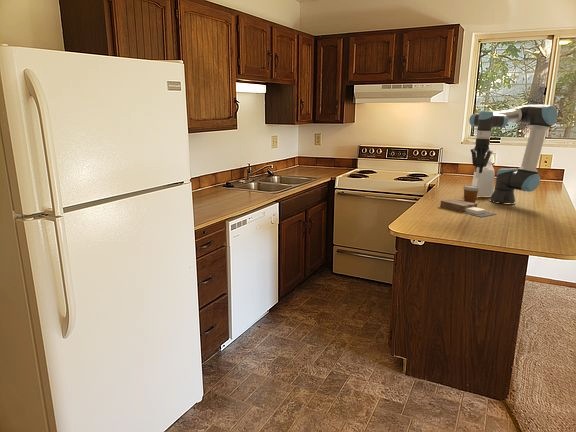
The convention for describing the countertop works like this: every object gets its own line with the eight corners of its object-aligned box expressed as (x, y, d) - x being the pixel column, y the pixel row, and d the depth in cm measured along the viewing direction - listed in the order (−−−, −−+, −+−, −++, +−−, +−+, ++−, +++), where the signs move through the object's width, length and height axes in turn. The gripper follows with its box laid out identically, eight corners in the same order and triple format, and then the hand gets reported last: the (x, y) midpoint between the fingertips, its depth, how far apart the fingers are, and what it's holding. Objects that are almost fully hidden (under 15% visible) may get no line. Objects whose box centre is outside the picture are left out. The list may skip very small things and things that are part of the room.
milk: (486, 194, 314) (491, 159, 308) (492, 198, 303) (497, 161, 296) (469, 194, 315) (474, 158, 309) (474, 197, 304) (480, 160, 297)
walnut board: (454, 204, 278) (454, 198, 277) (476, 210, 265) (477, 203, 264) (440, 206, 270) (440, 200, 269) (462, 212, 257) (462, 205, 256)
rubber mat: (478, 210, 264) (478, 209, 264) (496, 214, 254) (496, 213, 254) (463, 212, 256) (463, 212, 256) (481, 217, 246) (481, 216, 246)
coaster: (473, 209, 263) (473, 206, 262) (485, 212, 256) (485, 209, 256) (465, 211, 259) (465, 208, 258) (476, 214, 252) (477, 210, 251)
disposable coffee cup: (463, 202, 286) (465, 184, 283) (478, 204, 281) (480, 186, 278) (459, 204, 278) (462, 186, 275) (475, 206, 273) (477, 188, 270)
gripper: (469, 137, 252) (464, 176, 258) (489, 139, 242) (484, 180, 248) (476, 137, 256) (471, 176, 262) (497, 138, 246) (491, 179, 252)
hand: (477, 178), depth 255 cm, fingers closed
